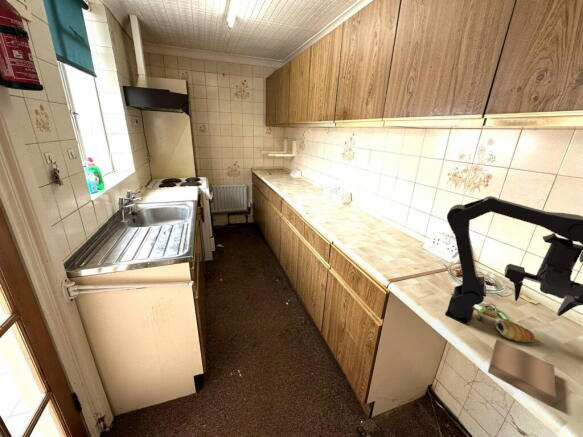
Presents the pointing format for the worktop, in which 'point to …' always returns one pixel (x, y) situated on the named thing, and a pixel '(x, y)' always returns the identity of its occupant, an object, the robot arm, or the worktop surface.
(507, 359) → the walnut base
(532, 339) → the pastry
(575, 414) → the worktop surface
